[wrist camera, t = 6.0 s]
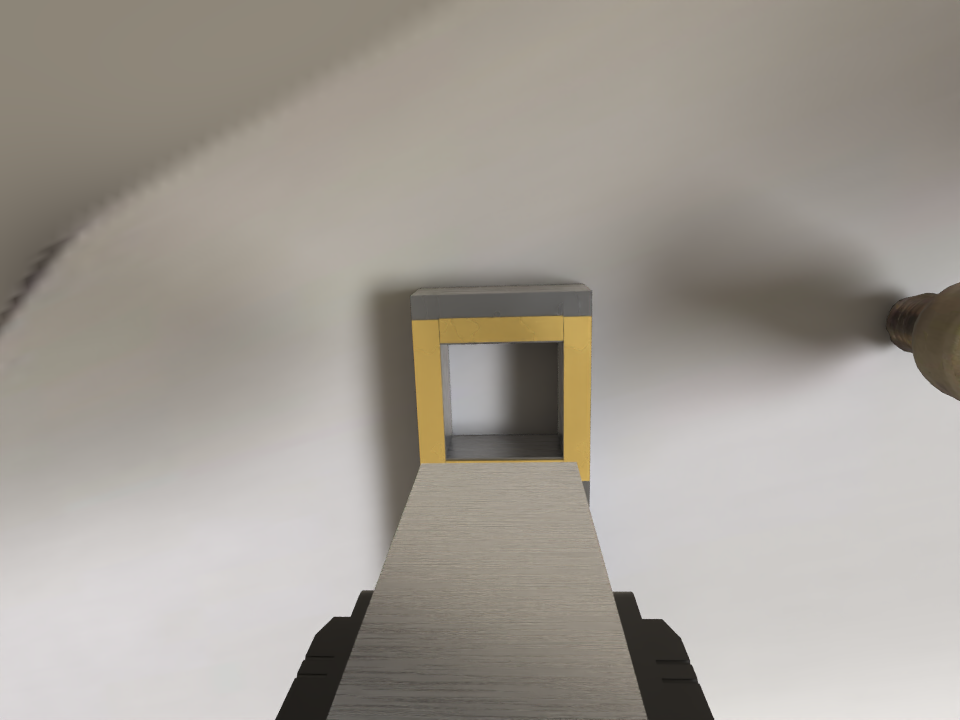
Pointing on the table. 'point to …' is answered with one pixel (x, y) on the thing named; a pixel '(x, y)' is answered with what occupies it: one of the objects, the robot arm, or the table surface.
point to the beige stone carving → (931, 335)
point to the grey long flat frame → (491, 322)
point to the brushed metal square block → (492, 606)
